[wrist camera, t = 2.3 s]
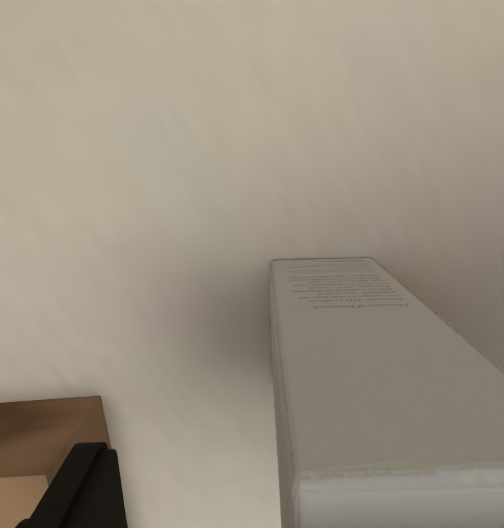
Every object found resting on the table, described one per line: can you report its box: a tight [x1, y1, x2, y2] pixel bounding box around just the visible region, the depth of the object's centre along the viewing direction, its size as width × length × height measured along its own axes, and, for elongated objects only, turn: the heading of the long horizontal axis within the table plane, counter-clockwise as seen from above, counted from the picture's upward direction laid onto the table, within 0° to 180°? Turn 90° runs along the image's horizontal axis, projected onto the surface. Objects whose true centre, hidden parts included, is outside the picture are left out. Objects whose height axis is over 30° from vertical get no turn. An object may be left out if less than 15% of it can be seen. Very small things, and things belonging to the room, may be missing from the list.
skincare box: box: [270, 257, 504, 528], centre depth 11 cm, size 6×4×12 cm
